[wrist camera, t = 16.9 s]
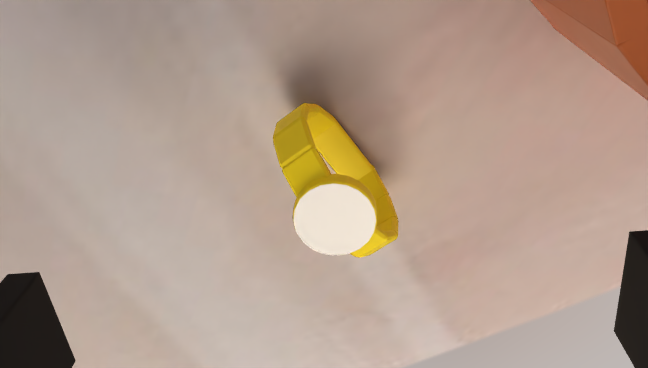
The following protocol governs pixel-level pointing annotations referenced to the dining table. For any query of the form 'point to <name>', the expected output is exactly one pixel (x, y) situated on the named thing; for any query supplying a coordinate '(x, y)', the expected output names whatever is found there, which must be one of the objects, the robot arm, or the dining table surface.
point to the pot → (606, 34)
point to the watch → (332, 186)
